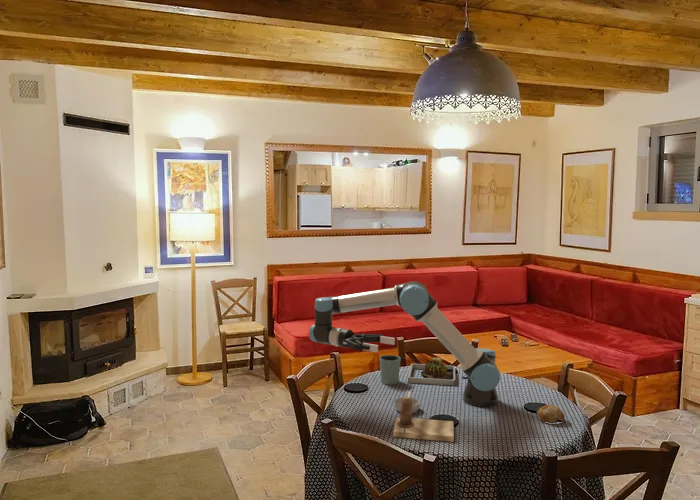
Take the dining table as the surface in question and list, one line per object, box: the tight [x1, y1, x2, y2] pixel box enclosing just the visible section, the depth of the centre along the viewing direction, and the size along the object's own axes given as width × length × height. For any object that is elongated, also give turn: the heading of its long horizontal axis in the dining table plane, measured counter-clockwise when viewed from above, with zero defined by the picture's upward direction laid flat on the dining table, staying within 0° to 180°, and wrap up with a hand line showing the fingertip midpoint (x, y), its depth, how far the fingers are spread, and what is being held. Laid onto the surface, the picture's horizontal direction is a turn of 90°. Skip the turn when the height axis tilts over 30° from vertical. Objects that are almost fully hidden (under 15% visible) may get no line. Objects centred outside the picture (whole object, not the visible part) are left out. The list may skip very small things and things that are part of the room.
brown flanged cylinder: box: [398, 396, 414, 428], centre depth 209 cm, size 6×6×10 cm
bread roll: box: [536, 404, 566, 423], centre depth 220 cm, size 10×10×8 cm
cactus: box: [420, 356, 453, 380], centre depth 276 cm, size 17×16×10 cm
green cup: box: [379, 354, 402, 386], centre depth 266 cm, size 10×10×12 cm
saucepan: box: [393, 390, 421, 414], centre depth 234 cm, size 11×18×4 cm, turn 168°
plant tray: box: [407, 363, 456, 386], centre depth 275 cm, size 23×24×2 cm
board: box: [393, 416, 455, 443], centre depth 209 cm, size 22×14×2 cm, turn 80°
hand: (386, 345), depth 219 cm, fingers open, 13 cm apart
